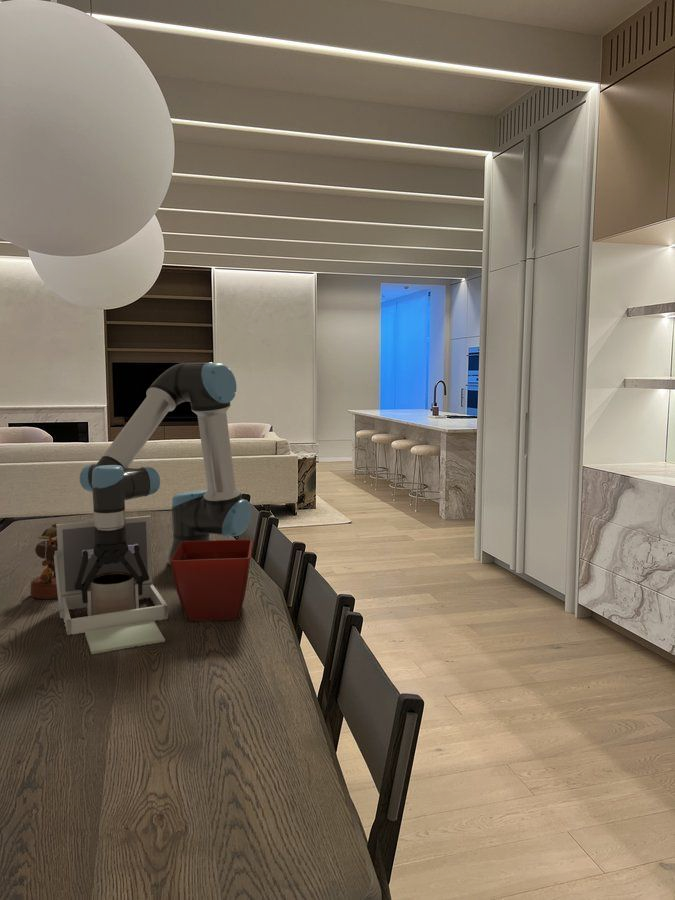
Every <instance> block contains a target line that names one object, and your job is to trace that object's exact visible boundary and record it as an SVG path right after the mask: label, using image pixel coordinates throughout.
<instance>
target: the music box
mask: <svg viewBox="0 0 675 900" xmlns="http://www.w3.org/2000/svg"><path fill="white" fill-rule="evenodd" d="M56 524H58V523H56V522H55V523H53V524H52V525H51V527H48V528H46V529H45V530H44V531H43V532H42V533H41V535H40V536H39V537H38V539H42V541H39V542H38V543H37V544H36V546H35V549H34V550H35V551H34V552H35V555H36V556H37V557H39V558H41V559H44V560H42V562H41V566H42V567H45V568H44V570H43V571H42V573H41V574H40V576H37V577H35V578H34V579H33V580H31V582H30V596H32V597H34V598H37V599H45V600H46V599H48V600H49V599H50V600H51V599H58V593H57V583H56V573H55V563H54V555H55V551H58V546H57V526H56ZM53 538H55V539H53Z"/></svg>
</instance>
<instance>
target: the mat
mask: <svg viewBox="0 0 675 900" xmlns="http://www.w3.org/2000/svg"><path fill="white" fill-rule="evenodd" d="M84 635H85V638H86V641H87V645H88V647H89V651H90V653H91V655H97V654H101V653H108V652H115V651H118V650H125V648H126V649H129V648H130V647H131V648H136V647H135V646H137V647H141V646H142V645H143V646H147V644H148V645H154V644H158V643H165V642H166V638H165V637H164V635H163V634H162V632H161V631H160V629H159V627H158V626H157V623H156V621H154V620H153V621H147V622H140V623H134V624H128V625H122V626H116V627H109V628H103V629H97V630H91V631H85V632H84ZM153 643H154V644H153ZM143 646H142V647H143Z"/></svg>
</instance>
